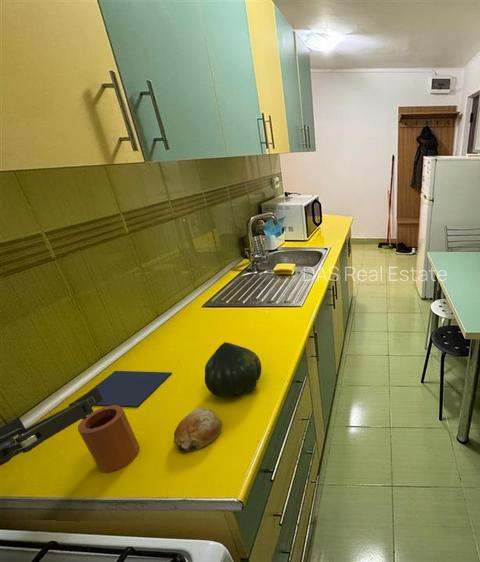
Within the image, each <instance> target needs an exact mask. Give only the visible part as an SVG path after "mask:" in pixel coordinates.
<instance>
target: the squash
mask: <svg viewBox="0 0 480 562" xmlns="http://www.w3.org/2000/svg"><path fill="white" fill-rule="evenodd" d="M262 369H263V368H262V362H261V360H260V358H259V356H258V355H257V354H256V352H254V351H252V350H251V349H249V348H246V347H243V346H240V345H237V344H234V343H231V342H226V341H224V342H223V343H222V344H220V345H219V346H218V348H217V349H215V351H214V353H212V355H211V356H210V357H209V359H208V360H207V361H206V364H205V365H204V383H205V386H206V388H207V390H208V391H209V392H210V393H211V394H212V395H214V396H216V397H218V398H219V397H220V398H221V397H225V398H231V397H232V396H234V395H240V394H241V393H242V392H246V393H247V392H251V391H253V390H254V389H255V388H256V385H257V382H258V381H259V379H260V378H261V375H262Z"/></svg>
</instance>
